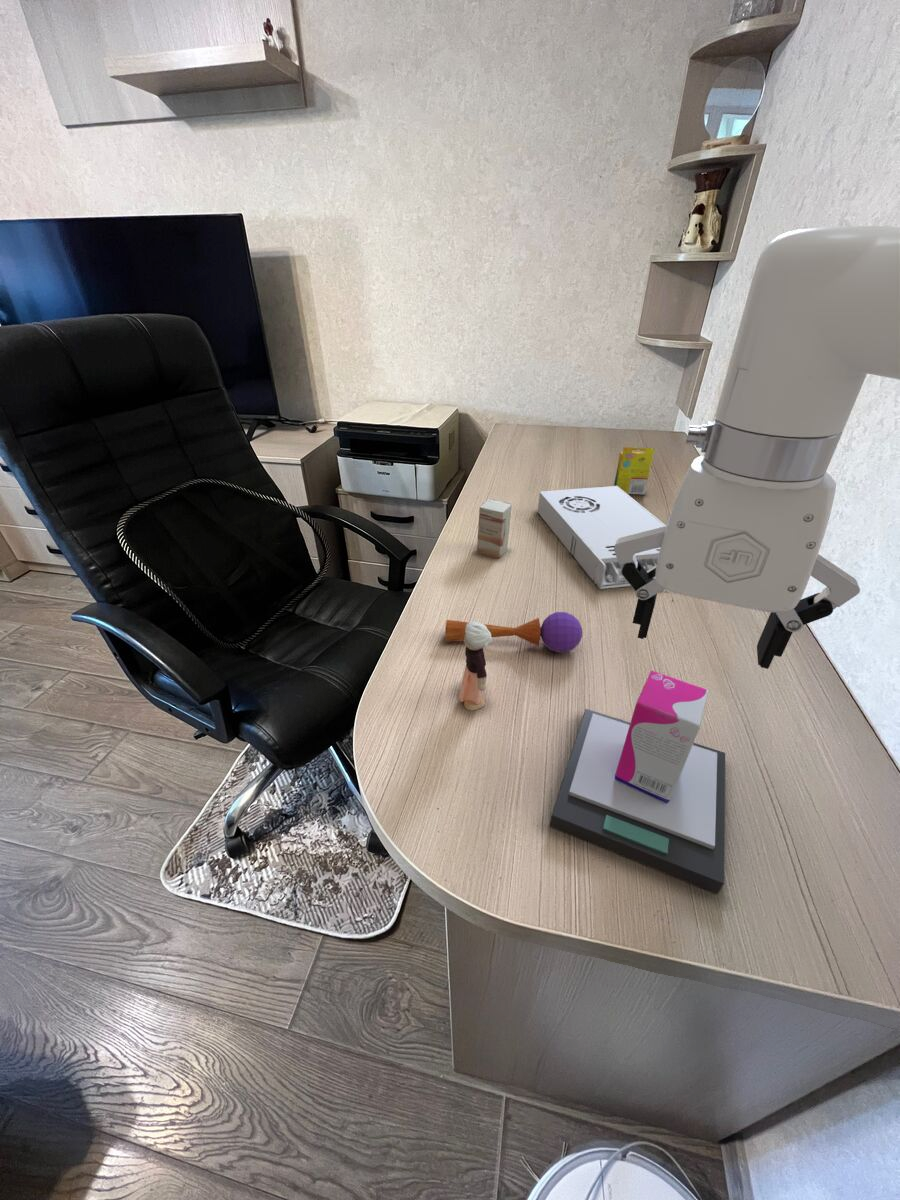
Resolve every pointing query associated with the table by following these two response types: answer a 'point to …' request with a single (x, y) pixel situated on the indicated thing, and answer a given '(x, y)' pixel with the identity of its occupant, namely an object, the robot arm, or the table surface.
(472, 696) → the grandmother figurine
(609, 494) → the power supply unit
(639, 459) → the crayon box
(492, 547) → the medicine carton
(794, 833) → the table surface
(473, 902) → the table surface
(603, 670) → the table surface
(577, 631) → the kendama
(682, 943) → the table surface
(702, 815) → the scale
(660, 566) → the robot arm
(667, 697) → the supplement box
